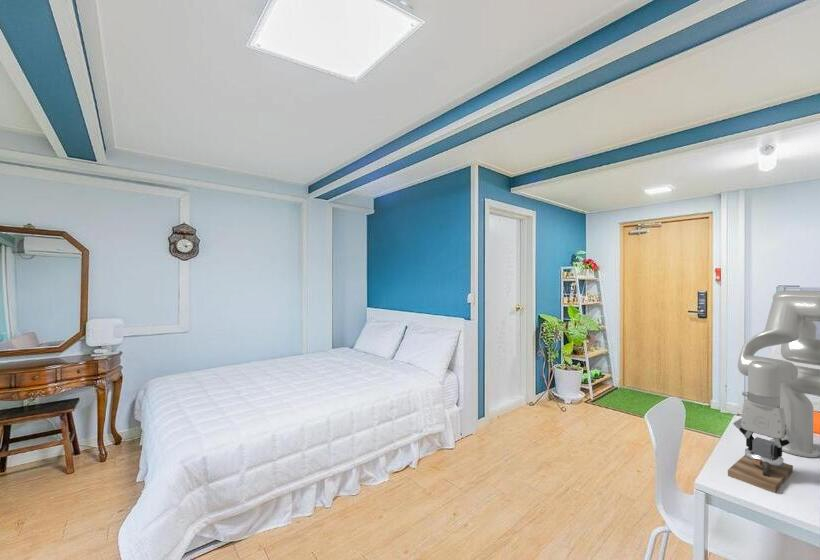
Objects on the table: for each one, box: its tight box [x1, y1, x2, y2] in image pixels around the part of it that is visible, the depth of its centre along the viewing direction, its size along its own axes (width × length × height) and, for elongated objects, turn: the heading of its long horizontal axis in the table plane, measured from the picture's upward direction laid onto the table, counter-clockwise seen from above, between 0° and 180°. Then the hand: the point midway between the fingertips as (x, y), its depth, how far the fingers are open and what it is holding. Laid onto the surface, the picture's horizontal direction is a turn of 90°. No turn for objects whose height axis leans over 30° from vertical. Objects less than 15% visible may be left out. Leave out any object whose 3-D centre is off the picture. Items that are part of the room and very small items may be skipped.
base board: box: [727, 454, 794, 494], centre depth 115 cm, size 21×11×6 cm, turn 122°
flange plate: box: [744, 436, 785, 467], centre depth 115 cm, size 11×9×6 cm
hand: (763, 452), depth 116 cm, fingers open, 5 cm apart
